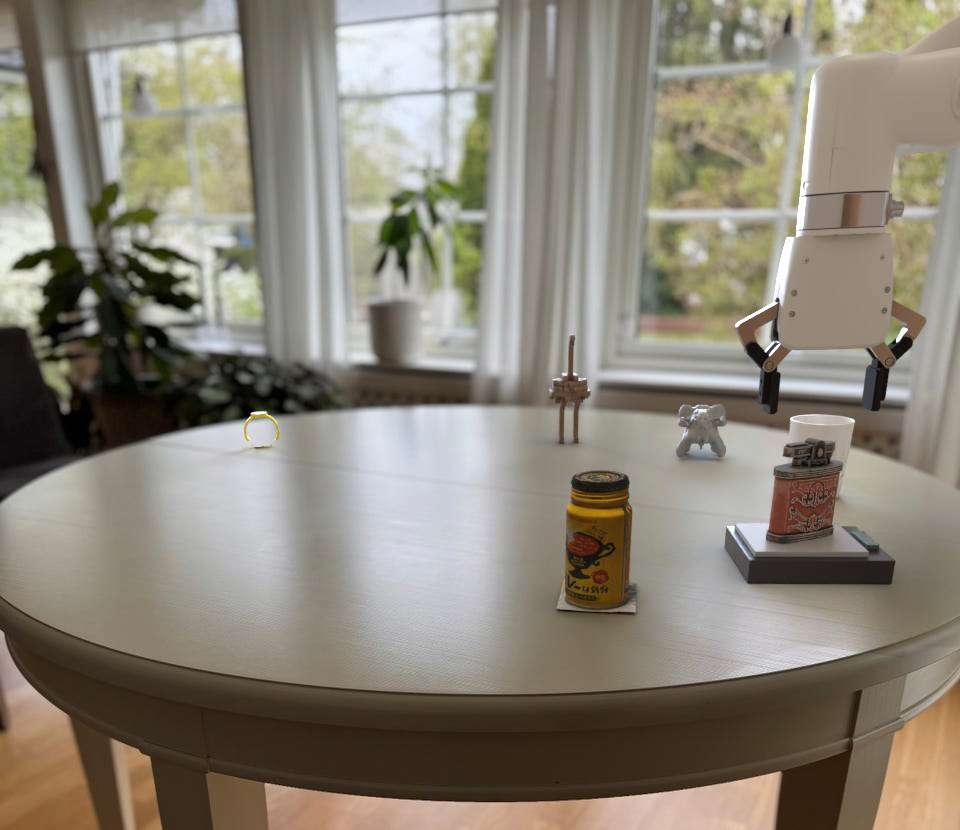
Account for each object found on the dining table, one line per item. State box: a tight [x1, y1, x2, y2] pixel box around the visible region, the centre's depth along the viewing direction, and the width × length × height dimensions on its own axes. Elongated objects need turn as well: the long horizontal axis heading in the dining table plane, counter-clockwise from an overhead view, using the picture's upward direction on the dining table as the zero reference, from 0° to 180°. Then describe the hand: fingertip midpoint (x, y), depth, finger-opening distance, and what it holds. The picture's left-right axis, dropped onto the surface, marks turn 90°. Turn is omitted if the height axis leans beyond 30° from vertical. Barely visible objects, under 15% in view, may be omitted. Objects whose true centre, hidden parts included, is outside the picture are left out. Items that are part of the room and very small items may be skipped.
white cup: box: [787, 413, 856, 499], centre depth 117 cm, size 8×8×10 cm
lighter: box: [766, 438, 843, 544], centre depth 90 cm, size 8×3×10 cm, turn 115°
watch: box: [243, 411, 281, 442], centre depth 154 cm, size 6×3×6 cm, turn 103°
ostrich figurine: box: [548, 333, 592, 444], centre depth 156 cm, size 17×7×18 cm, turn 1°
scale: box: [724, 522, 896, 585], centre depth 92 cm, size 14×12×3 cm
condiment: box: [556, 469, 638, 613], centre depth 83 cm, size 7×8×12 cm
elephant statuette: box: [675, 403, 728, 459], centre depth 143 cm, size 9×12×8 cm
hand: (819, 410), depth 87 cm, fingers open, 9 cm apart
